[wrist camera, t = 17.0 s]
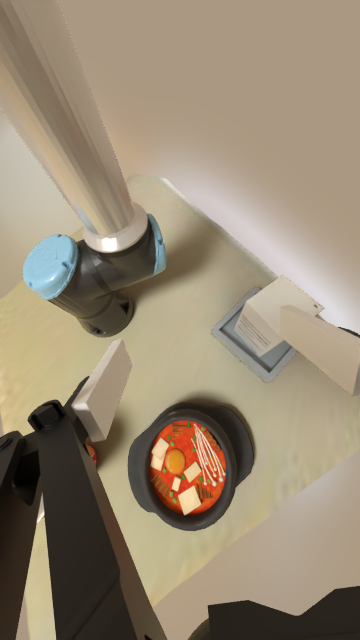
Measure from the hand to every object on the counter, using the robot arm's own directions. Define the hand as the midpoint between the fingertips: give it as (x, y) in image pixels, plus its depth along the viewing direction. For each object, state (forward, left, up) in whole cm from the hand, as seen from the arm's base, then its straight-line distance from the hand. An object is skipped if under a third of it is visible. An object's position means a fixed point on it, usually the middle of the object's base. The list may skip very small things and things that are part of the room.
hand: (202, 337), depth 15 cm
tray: (+2, +17, -30) cm, 34 cm away
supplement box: (+3, +17, -29) cm, 34 cm away
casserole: (+8, -13, -30) cm, 34 cm away
